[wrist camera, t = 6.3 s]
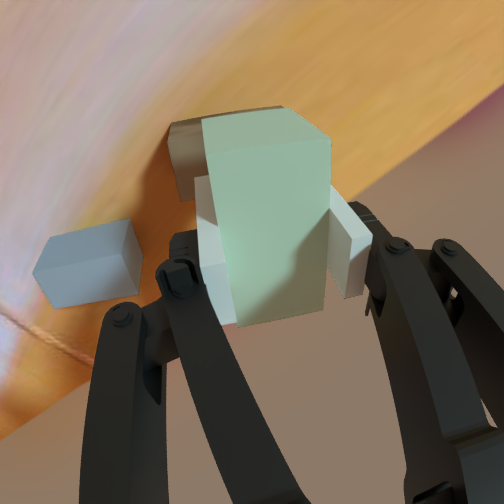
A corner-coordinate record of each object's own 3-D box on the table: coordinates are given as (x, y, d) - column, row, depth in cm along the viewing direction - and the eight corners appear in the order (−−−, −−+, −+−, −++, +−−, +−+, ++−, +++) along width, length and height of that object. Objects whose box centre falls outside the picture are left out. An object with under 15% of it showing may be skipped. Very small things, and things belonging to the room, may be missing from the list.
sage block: (294, 247, 19) (323, 310, 15) (225, 259, 18) (237, 327, 14) (289, 107, 14) (331, 138, 10) (201, 119, 13) (205, 154, 9)
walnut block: (181, 171, 24) (180, 201, 20) (171, 122, 21) (167, 142, 17) (283, 154, 24) (304, 180, 20) (280, 105, 22) (302, 121, 18)
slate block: (67, 270, 27) (54, 309, 23) (50, 236, 24) (32, 273, 21) (143, 255, 28) (138, 294, 24) (130, 217, 25) (121, 253, 21)
